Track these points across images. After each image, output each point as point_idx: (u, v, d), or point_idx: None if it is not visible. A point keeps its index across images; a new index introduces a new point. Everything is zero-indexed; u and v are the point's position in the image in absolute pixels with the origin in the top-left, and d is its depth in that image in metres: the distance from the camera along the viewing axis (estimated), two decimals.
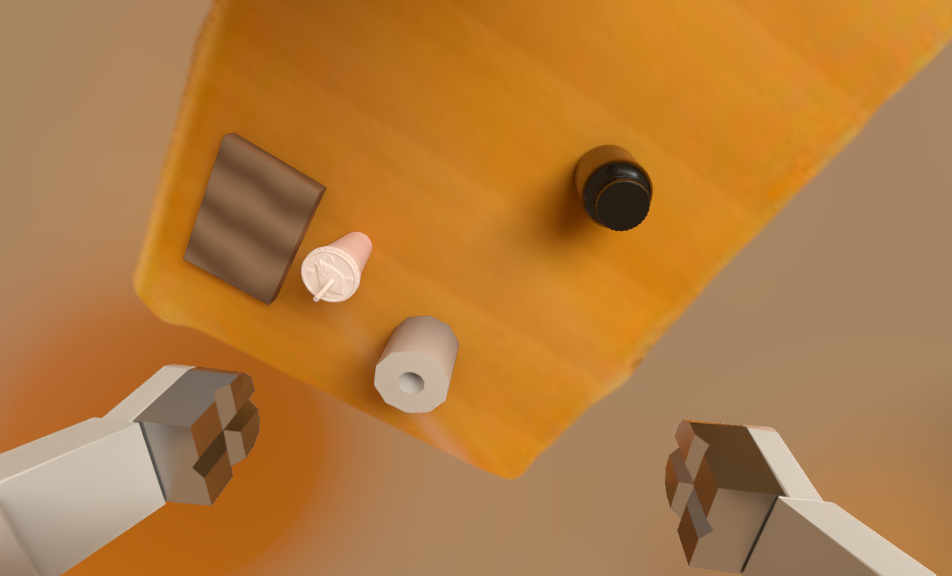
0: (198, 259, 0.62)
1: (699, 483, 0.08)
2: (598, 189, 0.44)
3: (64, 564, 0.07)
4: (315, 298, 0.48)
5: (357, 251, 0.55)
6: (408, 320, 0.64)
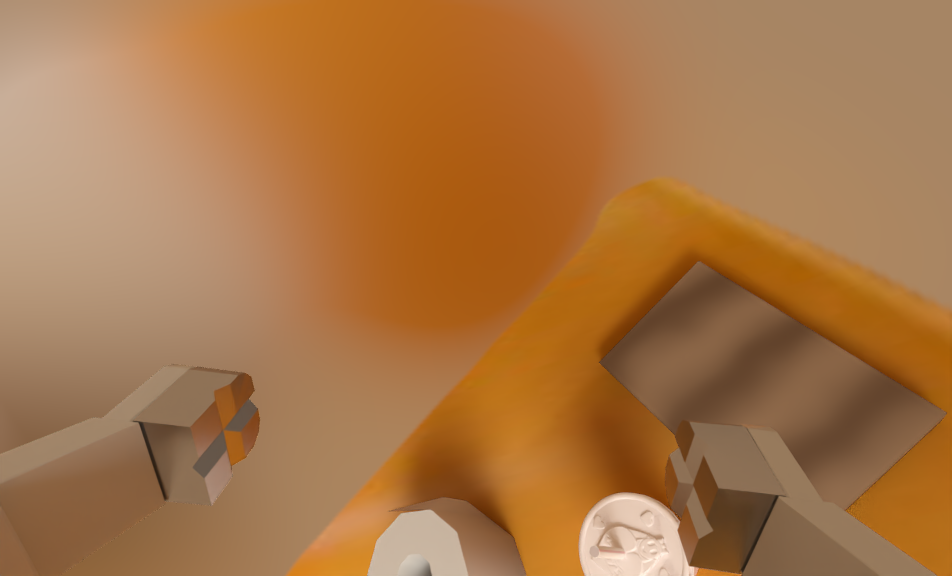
0: (694, 282, 0.40)
1: (699, 483, 0.08)
2: None
3: (64, 564, 0.07)
4: (595, 551, 0.24)
5: None
6: None
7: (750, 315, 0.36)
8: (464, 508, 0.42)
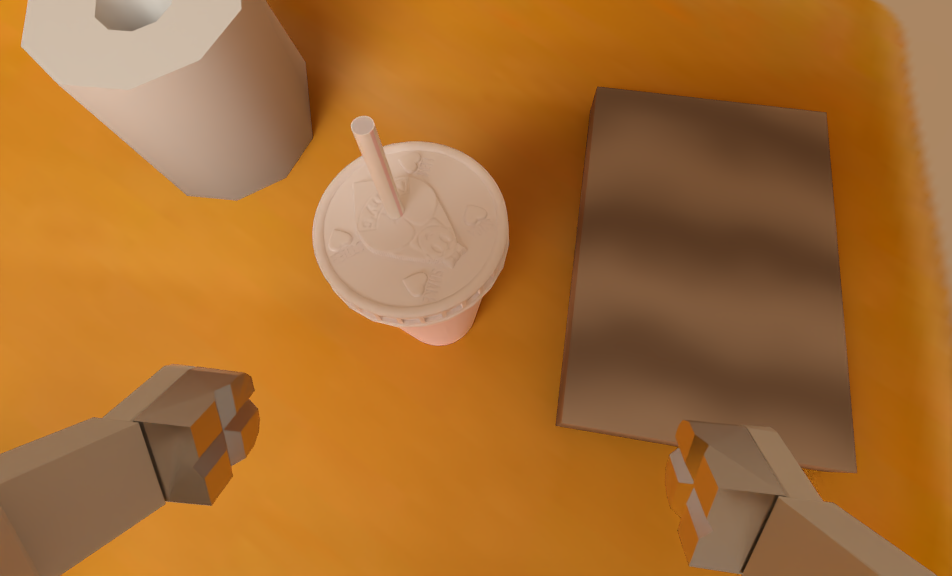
0: (793, 125, 0.25)
1: (699, 483, 0.08)
2: None
3: (64, 564, 0.07)
4: (365, 127, 0.11)
5: None
6: (274, 169, 0.26)
7: (803, 211, 0.23)
8: (291, 51, 0.27)
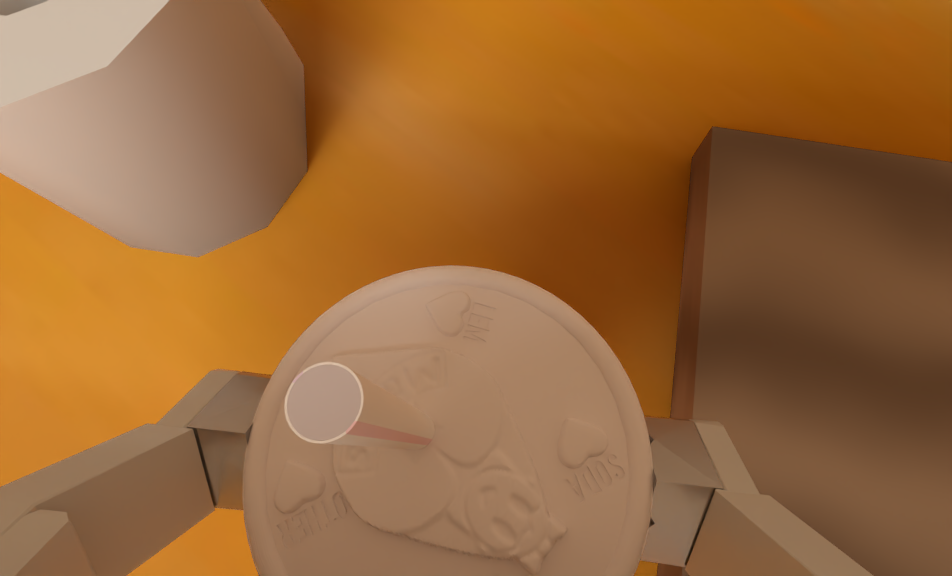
0: None
1: None
2: None
3: (119, 572, 0.07)
4: (332, 410, 0.03)
5: None
6: (248, 217, 0.19)
7: None
8: (281, 51, 0.19)
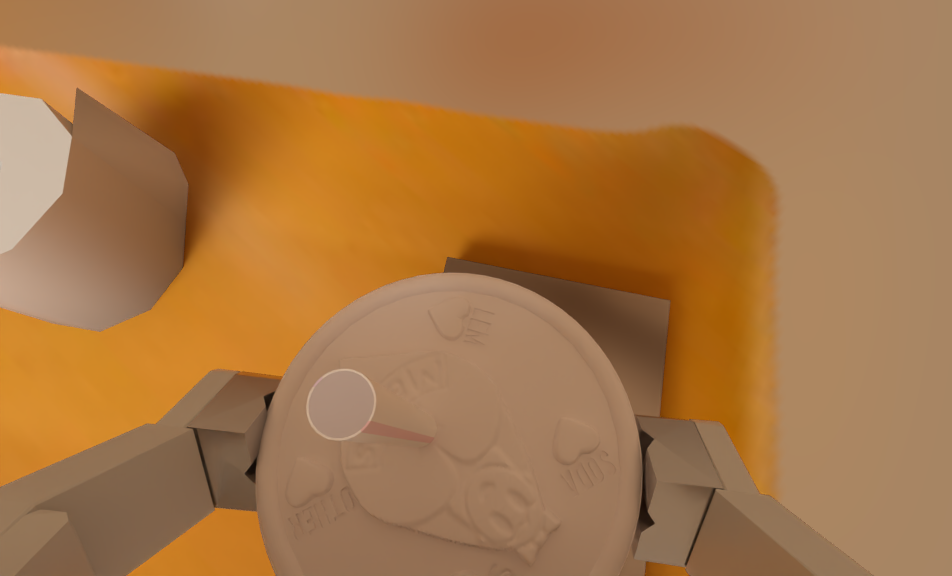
0: (634, 313, 0.25)
1: (643, 476, 0.08)
2: None
3: (118, 572, 0.07)
4: (348, 411, 0.04)
5: None
6: (133, 306, 0.27)
7: None
8: (161, 186, 0.28)
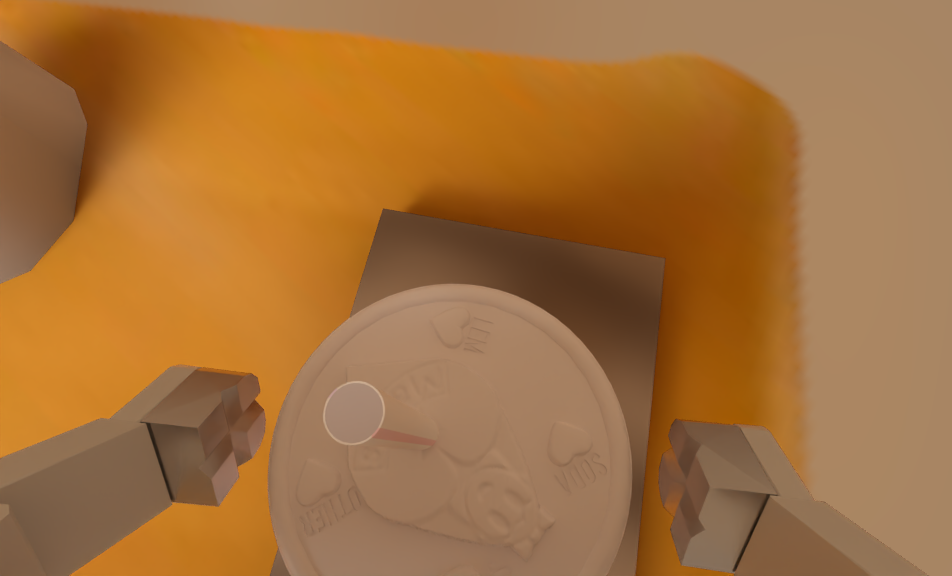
0: (619, 274, 0.19)
1: (692, 483, 0.08)
2: None
3: (72, 565, 0.07)
4: (360, 419, 0.04)
5: None
6: (3, 265, 0.22)
7: None
8: (41, 119, 0.23)
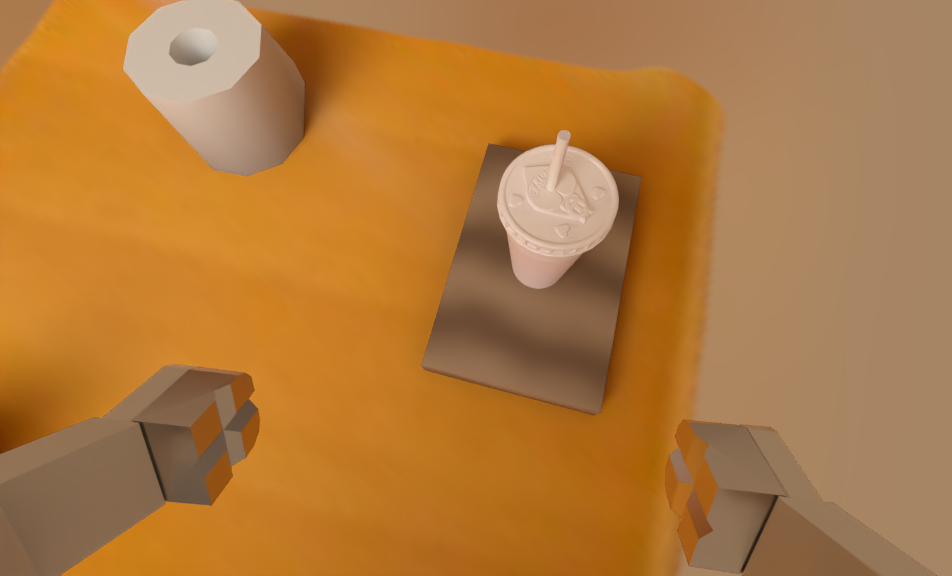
0: (616, 183, 0.36)
1: (699, 483, 0.08)
2: None
3: (64, 564, 0.07)
4: (565, 136, 0.21)
5: (524, 259, 0.28)
6: (273, 157, 0.39)
7: (608, 243, 0.35)
8: (294, 77, 0.39)
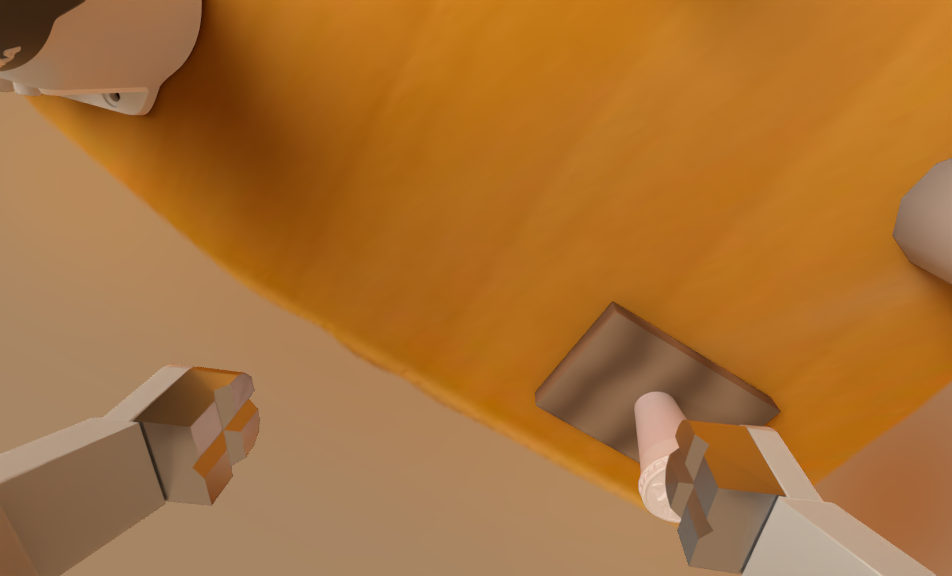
0: None
1: (699, 483, 0.08)
2: None
3: (64, 564, 0.07)
4: None
5: (656, 434, 0.38)
6: (902, 236, 0.36)
7: None
8: None
